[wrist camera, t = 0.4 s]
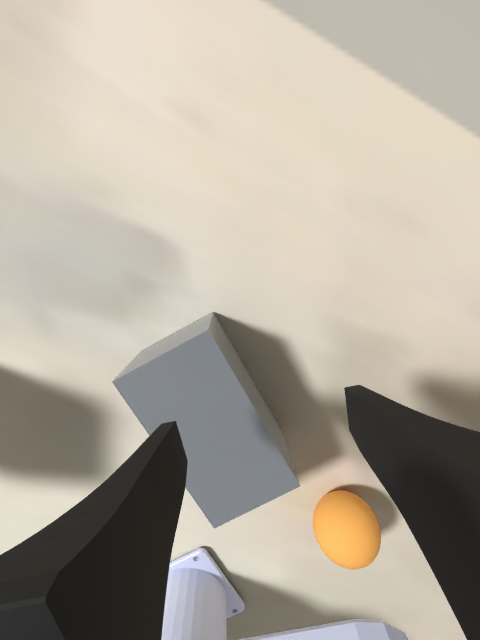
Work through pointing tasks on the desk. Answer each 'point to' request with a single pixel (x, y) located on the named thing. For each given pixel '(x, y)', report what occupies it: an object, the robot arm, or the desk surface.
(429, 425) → the robot arm
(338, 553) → the ball
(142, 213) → the desk surface
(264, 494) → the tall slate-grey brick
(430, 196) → the desk surface
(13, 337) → the desk surface
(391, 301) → the desk surface
